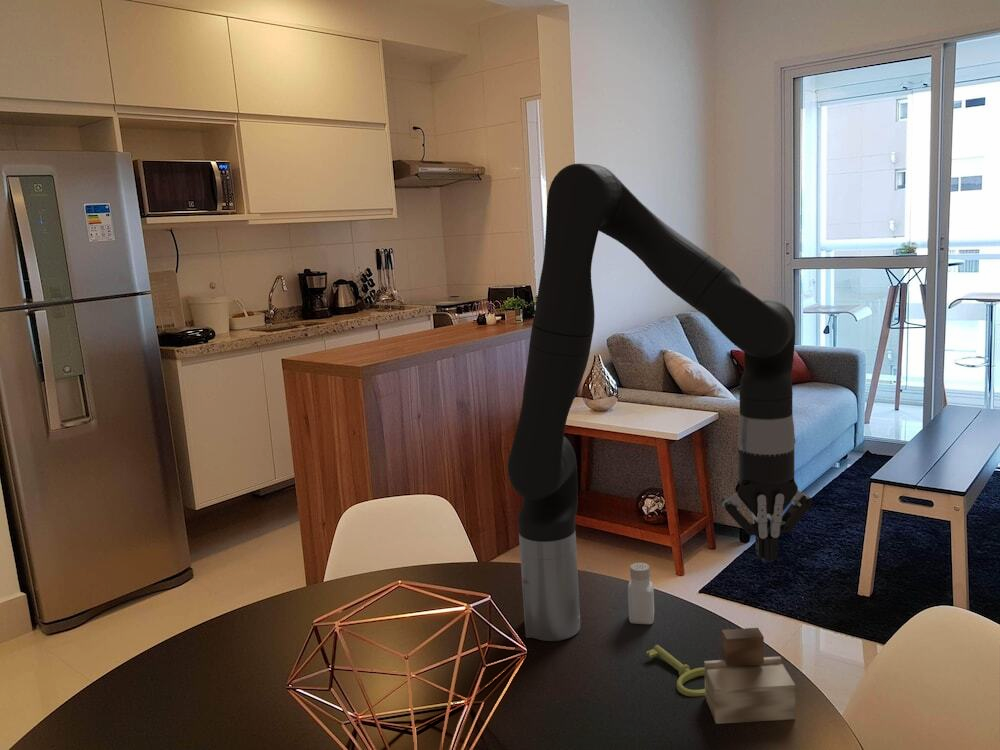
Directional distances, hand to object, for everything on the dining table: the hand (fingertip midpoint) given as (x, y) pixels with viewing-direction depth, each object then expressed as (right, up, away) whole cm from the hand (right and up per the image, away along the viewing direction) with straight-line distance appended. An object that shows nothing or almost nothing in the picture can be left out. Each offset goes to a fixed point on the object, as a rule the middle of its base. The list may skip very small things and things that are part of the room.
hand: (766, 559), depth 118 cm
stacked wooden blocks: (-5, -18, -6) cm, 20 cm away
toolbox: (-5, -19, -7) cm, 21 cm away
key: (-11, -18, +2) cm, 21 cm away
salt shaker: (-15, -14, +19) cm, 28 cm away
